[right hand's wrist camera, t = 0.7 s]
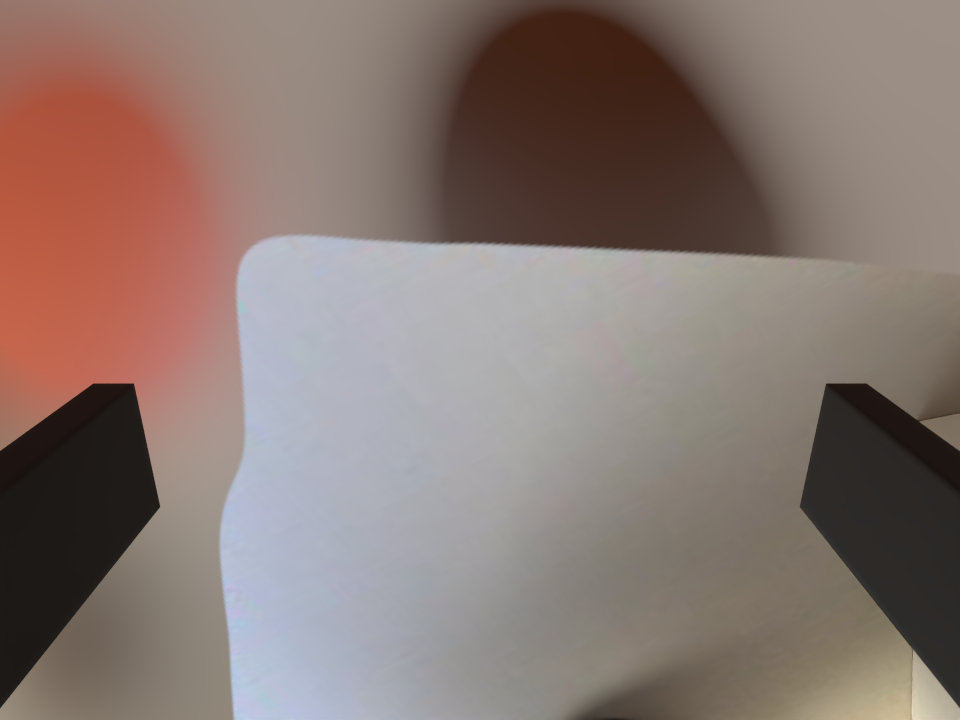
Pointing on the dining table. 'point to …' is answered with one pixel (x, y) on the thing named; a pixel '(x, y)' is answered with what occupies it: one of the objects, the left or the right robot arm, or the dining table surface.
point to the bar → (931, 703)
